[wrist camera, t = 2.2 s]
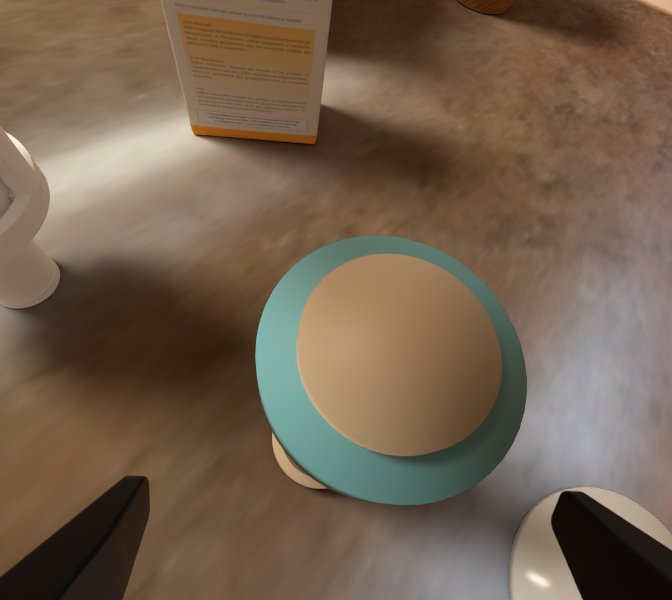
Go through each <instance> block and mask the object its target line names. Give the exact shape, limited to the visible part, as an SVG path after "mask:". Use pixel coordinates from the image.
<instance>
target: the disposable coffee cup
mask: <svg viewBox="0 0 672 600" xmlns="http://www.w3.org/2000/svg"><path fill="white" fill-rule="evenodd" d="M458 1H459V2H460V3H462V4H463V5H465V6H466V7H468V8H470V9H473V10H475V11H478V12H481V13H486V14H500V13H504V12H506V11H507V10H508V9H509V8H510V6H511V4H512V3H513V1H514V0H458Z"/></svg>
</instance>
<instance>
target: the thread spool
mask: <svg viewBox="0 0 672 600" xmlns="http://www.w3.org/2000/svg"><path fill="white" fill-rule="evenodd" d="M255 358H256V371H257V380H258V388H259V394H260V399H261V404H262V408H263V411H264V414H265V416H266V419H267V422H268V424H269V426H270V428H271V430H272V445H273V451H274V455H275V458H276V460H277V462H278V464H279V466H280V468H281V469H282V470H283V472H284V473H285V474H286V475H287V476H288V477H289V478H290V479H292V480H293V481H294V482H296V483H298V484H300V485H302V486H305V487H308V488H314V489H325V488H328V489H330V490H332V491H335V492H337V493H339V494H342V495H344V496H346V497H350V498H354V499H357V500H361V501H366V502H375V503H384V504H394V505H422V504H427V503H432V502H437V501H442V500H445V499H447V498H450V497H453V496H455V495H458V494H460V493H462V492H464V491H466V490H467V489H469V488H471V487H473V486H475V485H476V484H477V483H479V482H480V481H481V480H482V479H484V478H485V477H486V476H487V475H489V474H490V473H491V472H492V471H493V470H494V469H495V467H496V466H497V465H498V464H499V463H500V462H501V461H502V460H503V458H504V457H505V455H506V454H507V452H508V450H509V449H510V447H511V446H512V444H513V442H514V440H515V437H516V435H517V433H518V431H519V429H520V425H521V422H522V418H523V414H524V410H525V403H526V395H527V376H526V368H525V360H524V356H523V352H522V348H521V344H520V342H519V339H518V336H517V334H516V331H515V328H514V326H513V324H512V322H511V320H510V318H509V316H508V314H507V313H506V311H505V310H504V308H503V307H502V305H501V304H500V302H499V300H498V299H497V298H496V297H495V295H494V294H493V293H492V292H491V290H490V289H489V288H488V287H487V286H486V285H485V284H484V283H483V282H482V281H481V280H480V279H479V278H478V277H477V276H476V275H475V274H474V273H473V272H471V271H470V270H469V269H468V268H467V267H465V266H464V265H463V264H461V263H460V262H458V261H457V260H455V259H454V258H452V257H451V256H449V255H447V254H445V253H443V252H441V251H439V250H437V249H435V248H433V247H430V246H428V245H425V244H423V243H419V242H416V241H412V240H409V239H404V238H399V237H393V236H379V235H375V236H360V237H353V238H347V239H344V240H340V241H337V242H334V243H331V244H329V245H326V246H324V247H322V248H319V249H318V250H316V251H314V252H312V253H311V254H309V255H307V256H306V257H304V258H303V259H302V260H301V261H299V262H298V263H297V264H296V265H294V266H293V267H292V268H291V269H290V270H289V271H288V272H287V273H286V275H285V276H284V277H283V278H282V279H281V281H280V282H279V283H278V285H277V286H276V287H275V289H274V290H273V292H272V294H271V296H270V298H269V300H268V301H267V303H266V306H265V308H264V311H263V314H262V317H261V319H260V323H259V328H258V333H257V338H256V353H255Z"/></svg>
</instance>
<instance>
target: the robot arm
mask: <svg viewBox="0 0 672 600" xmlns="http://www.w3.org/2000/svg"><path fill="white" fill-rule="evenodd" d="M149 512H150V498H149V481H148V478H147V477H145V476H126V477H124V478H122V479H121V480H120V481H119V482H117V483H116V484H115V485H114V486H112V487H111V488H110V489H109V490H107V491H106V492H105V493H104V494H102V495H101V496H100V497H99V498H97V499H96V500H95V501H94V502H93V503H91V504H90V505H89V506H88V507H86V508H85V509H84V510H83V511H81V512H80V513H79V514H78V515H76V516H75V517H74V518H73V519H71V520H70V521H69V522H68V523H66V524H65V525H64V526H63V527H62V528H60V529H59V530H58V531H57V532H55V533H54V534H53V535H52V536H50V537H49V538H48V539H47V540H45V541H44V542H43V543H42V544H40V545H39V546H38V547H37V548H35V549H34V550H33V551H32V552H31V553H29V554H28V555H27V556H26V557H24V558H23V559H22V560H21V561H19V562H18V563H17V564H16V565H14V566H13V567H12V568H11V569H9V570H8V571H7V572H6V573H4V574H3V575H2V576H1V577H0V600H123V597H124V594H125V591H126V587H127V584H128V581H129V578H130V575H131V572H132V568H133V565H134V562H135V559H136V556H137V553H138V550H139V546H140V543H141V540H142V537H143V534H144V531H145V527H146V524H147V521H148V517H149ZM551 526H552V529H553V532H554V534H555V537H556V539H557V541H558V544H559V546H560V548H561V551H562V553H563V555H564V558H565V560H566V562H567V565H568V567H569V569H570V572H571V574H572V577H573V579H574V581H575V584H576V586H577V588H578V591H579V593H580V595H581V597H582V599H583V600H672V550H671V549H669V548H668V547H666V546H665V545H663V544H662V543H660V542H659V541H657V540H656V539H654V538H653V537H651V536H650V535H648V534H646V533H645V532H643V531H642V530H640V529H639V528H637V527H636V526H634V525H633V524H631V523H630V522H628V521H627V520H625V519H624V518H622V517H621V516H619V515H617V514H616V513H614V512H613V511H611V510H610V509H608V508H607V507H605V506H604V505H602V504H601V503H599V502H598V501H596V500H595V499H593V498H592V497H590V496H588V495H587V494H585V493H584V492H581V491H563V492H562V493H561V494H560V496H559V498H558V501H557V503H556V506H555V508H554V511H553V513H552V516H551Z"/></svg>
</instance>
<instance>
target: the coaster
mask: <svg viewBox="0 0 672 600" xmlns="http://www.w3.org/2000/svg"><path fill="white" fill-rule="evenodd" d="M563 491H581V492H584V493H585V494H587V495H588V496H590V497H592V498H593V499H595V500H596V501H598V502H599V503H601V504H602V505H604V506H605V507H607V508H608V509H610V510H611V511H613V512H614V513H616V514H617V515H619V516H621V517H622V518H624V519H625V520H627V521H628V522H630V523H631V524H633V525H634V526H636V527H637V528H639V529H640V530H642V531H643V532H645V533H646V534H648V535H650V536H651V537H653V538H654V539H656V540H657V541H659V542H660V543H662V544H663V545H665V546H666V547H668V548H669V549H671V550H672V534H671V533H670V532H669V531H668V530H667V529H666V528H665V527H664V526H663V525H662V524H661V523H660V522H659V521H658V520H657V519H656V518H655V517H654V516H653V515H652V514H650V513H649V512H648V511H647V510H645V509H644V508H642V507H641V506H640V505H638V504H637V503H635V502H633V501H632V500H630V499H628V498H626V497H624V496H622V495H620V494H617V493H615V492H612V491H608V490H605V489H600V488H592V487H578V488H567V489H562V490H558V491H556V492H553V493H551V494H549V495H547V496H546V497H544V498H542V499H541V500H540V501H539V502H537V503H536V504H535V505H534V506H533V507H532V508H531V509H530V511H529V512H528V513H527V514H526V516H525V517H524V519H523V521H522V523H521V524H520V526H519V528H518V531H517V533H516V536H515V538H514V542H513V546H512V549H511V554H510V562H509V576H508V586H509V598H510V600H583V599H582V597H581V595H580V593H579V591H578V588H577V586H576V584H575V581H574V579H573V577H572V574H571V572H570V569H569V567H568V565H567V562H566V560H565V558H564V555H563V553H562V551H561V548H560V546H559V544H558V541H557V539H556V537H555V534H554V532H553V529H552V526H551V516H552V513H553V511H554V508H555V506H556V503H557V501H558V498H559V496H560V494H561V493H562V492H563Z"/></svg>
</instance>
